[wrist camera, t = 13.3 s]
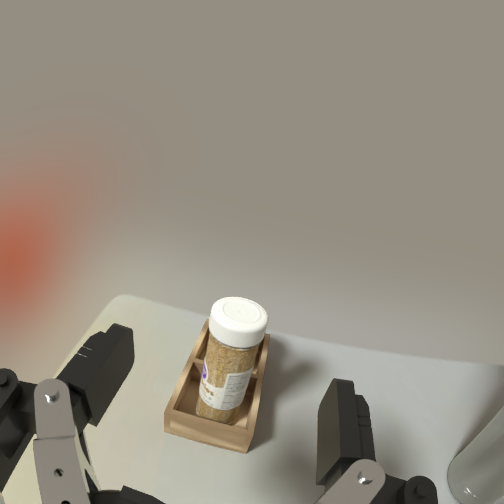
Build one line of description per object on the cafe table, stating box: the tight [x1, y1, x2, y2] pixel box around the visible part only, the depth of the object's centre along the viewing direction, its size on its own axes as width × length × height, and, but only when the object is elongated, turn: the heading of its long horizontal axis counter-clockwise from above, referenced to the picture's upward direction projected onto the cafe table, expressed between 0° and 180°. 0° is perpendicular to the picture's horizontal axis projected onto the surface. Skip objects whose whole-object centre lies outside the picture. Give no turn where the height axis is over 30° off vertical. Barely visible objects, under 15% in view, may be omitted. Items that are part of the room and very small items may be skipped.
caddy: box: [164, 319, 270, 454], centre depth 33 cm, size 16×8×4 cm, turn 172°
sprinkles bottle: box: [195, 297, 268, 425], centre depth 27 cm, size 5×5×13 cm
